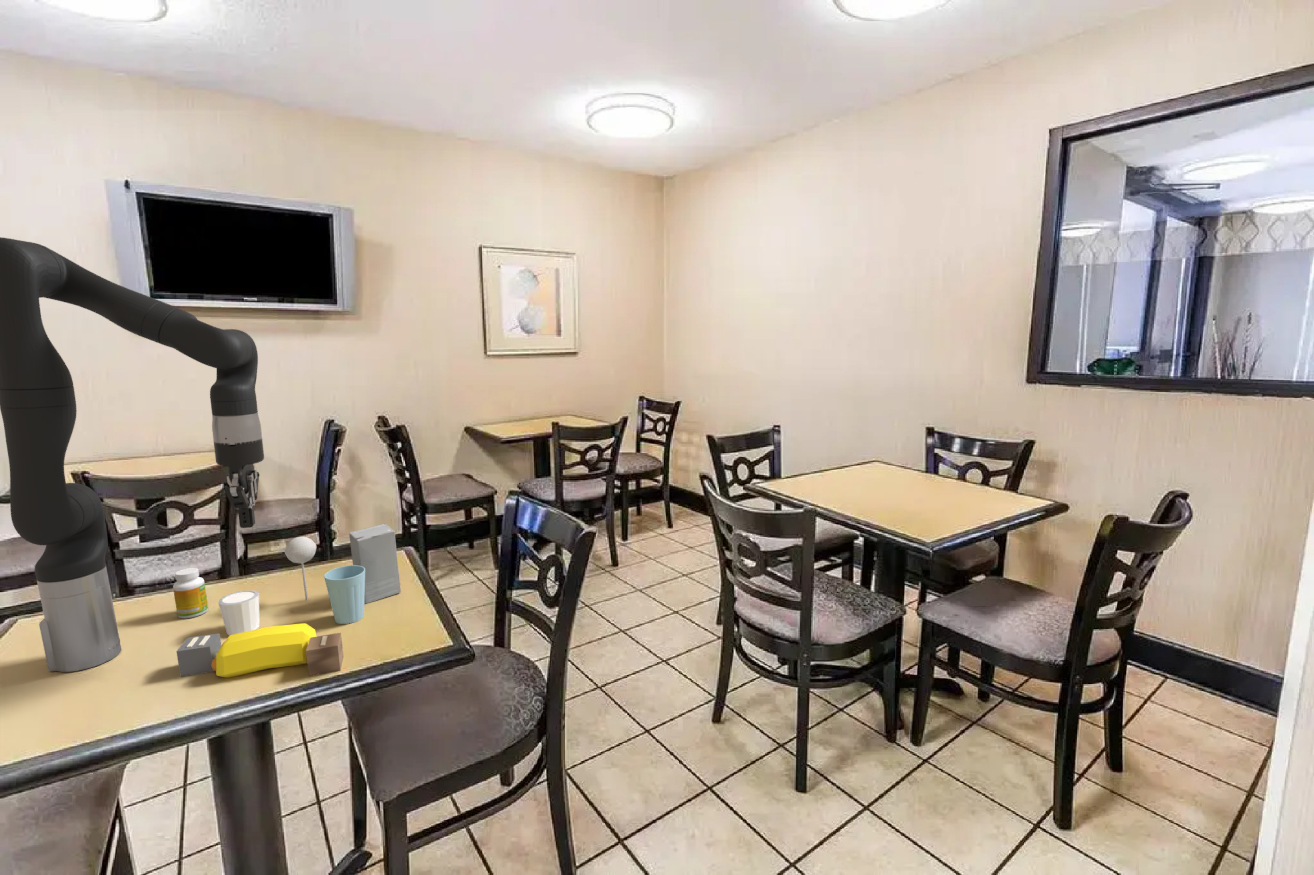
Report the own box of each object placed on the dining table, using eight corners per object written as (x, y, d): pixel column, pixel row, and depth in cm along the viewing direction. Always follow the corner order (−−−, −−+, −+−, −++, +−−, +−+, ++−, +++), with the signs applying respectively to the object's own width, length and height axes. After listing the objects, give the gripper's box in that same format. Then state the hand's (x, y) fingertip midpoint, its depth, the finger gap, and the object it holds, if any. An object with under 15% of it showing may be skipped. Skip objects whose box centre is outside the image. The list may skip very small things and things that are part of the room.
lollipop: (314, 592, 142) (307, 531, 139) (327, 598, 139) (320, 536, 136) (286, 602, 137) (278, 538, 134) (298, 609, 134) (290, 544, 131)
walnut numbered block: (308, 676, 108) (305, 649, 107) (313, 662, 113) (310, 636, 112) (340, 671, 110) (337, 644, 109) (343, 657, 115) (340, 631, 114)
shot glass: (215, 632, 124) (211, 600, 123) (251, 618, 130) (246, 587, 129) (234, 640, 121) (230, 607, 119) (270, 625, 127) (266, 593, 125)
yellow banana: (218, 663, 113) (205, 686, 106) (213, 630, 111) (200, 650, 104) (327, 645, 119) (322, 665, 112) (324, 613, 118) (318, 631, 111)
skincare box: (391, 585, 146) (385, 521, 143) (402, 594, 141) (397, 529, 138) (354, 595, 140) (347, 530, 137) (364, 606, 135) (357, 538, 132)
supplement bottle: (208, 614, 131) (201, 572, 130) (176, 621, 128) (169, 578, 127) (209, 605, 136) (202, 564, 134) (178, 611, 133) (171, 569, 131)
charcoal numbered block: (180, 677, 108) (176, 650, 107) (191, 662, 113) (187, 636, 112) (213, 672, 110) (209, 645, 109) (223, 657, 114) (219, 632, 114)
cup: (377, 610, 133) (372, 565, 131) (355, 628, 125) (350, 580, 123) (345, 608, 134) (339, 564, 132) (321, 626, 126) (315, 579, 124)
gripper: (225, 432, 118) (235, 518, 122) (201, 445, 106) (213, 540, 109) (270, 431, 121) (278, 514, 124) (251, 443, 109) (261, 535, 112)
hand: (247, 526), depth 117 cm, fingers closed
